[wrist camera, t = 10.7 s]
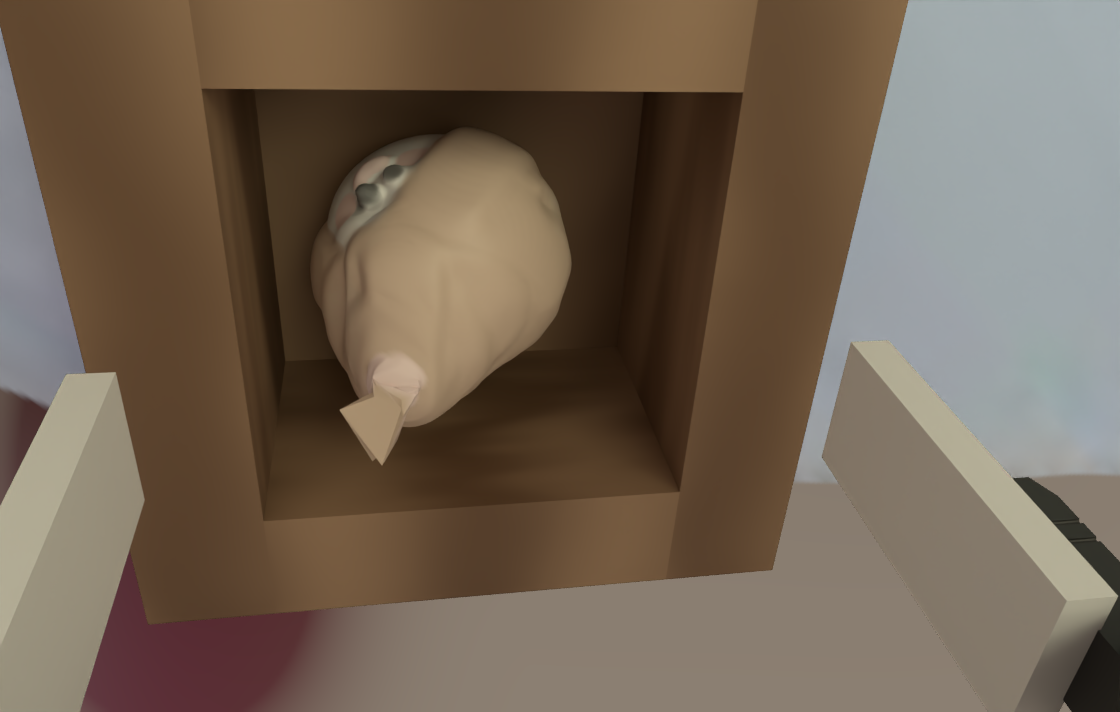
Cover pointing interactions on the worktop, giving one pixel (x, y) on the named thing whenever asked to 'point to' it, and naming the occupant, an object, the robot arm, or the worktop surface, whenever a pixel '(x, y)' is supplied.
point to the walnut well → (518, 385)
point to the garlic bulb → (435, 274)
